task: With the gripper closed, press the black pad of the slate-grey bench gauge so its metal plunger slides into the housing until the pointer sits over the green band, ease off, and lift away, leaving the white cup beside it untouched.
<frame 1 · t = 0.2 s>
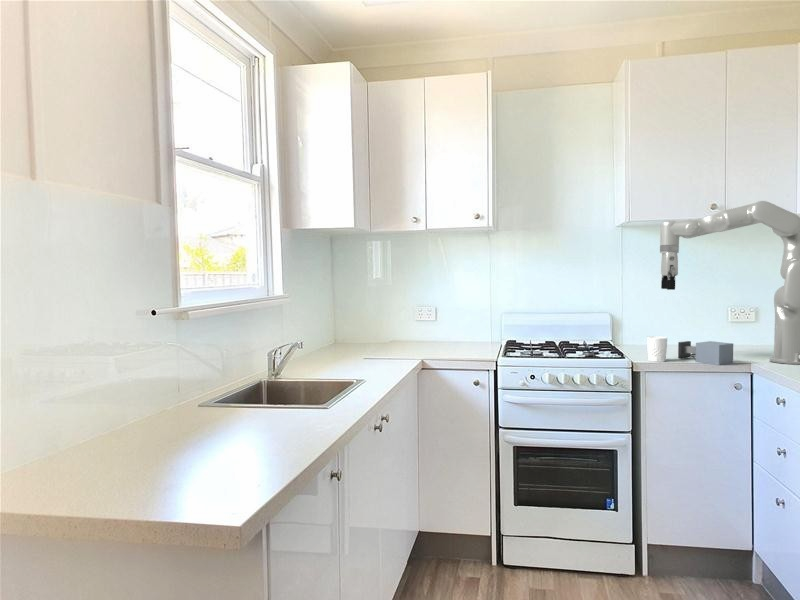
hand: (668, 289, 255), 30 cm above the worktop, tool pointing down, fingers open, 9 cm apart
plunger: (697, 350, 251), point 4 cm above the worktop, slide at 0.0 cm
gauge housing: (705, 361, 246), on the worktop
white cup: (656, 361, 249), on the worktop
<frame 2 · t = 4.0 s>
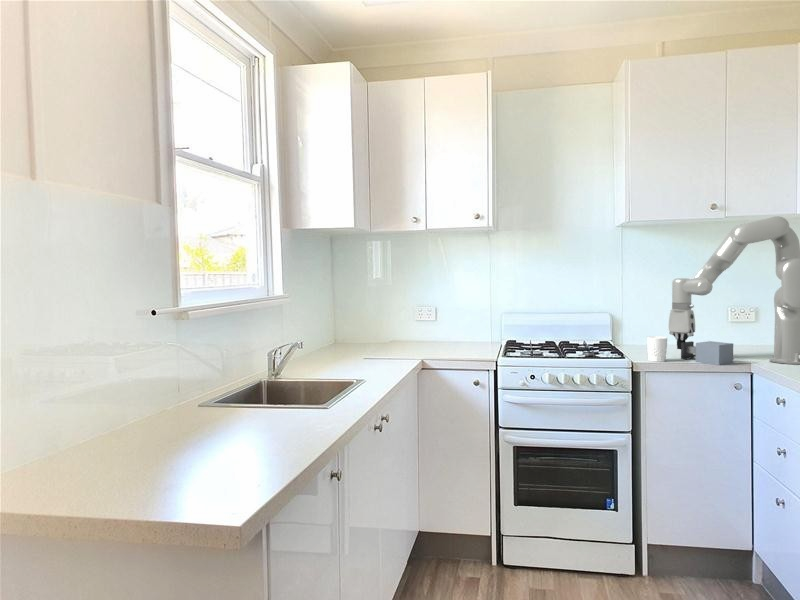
hand: (681, 348, 255), 4 cm above the worktop, tool pointing down, fingers closed
plunger: (700, 350, 250), point 4 cm above the worktop, slide at 1.3 cm, touching gripper
everything else where it was.
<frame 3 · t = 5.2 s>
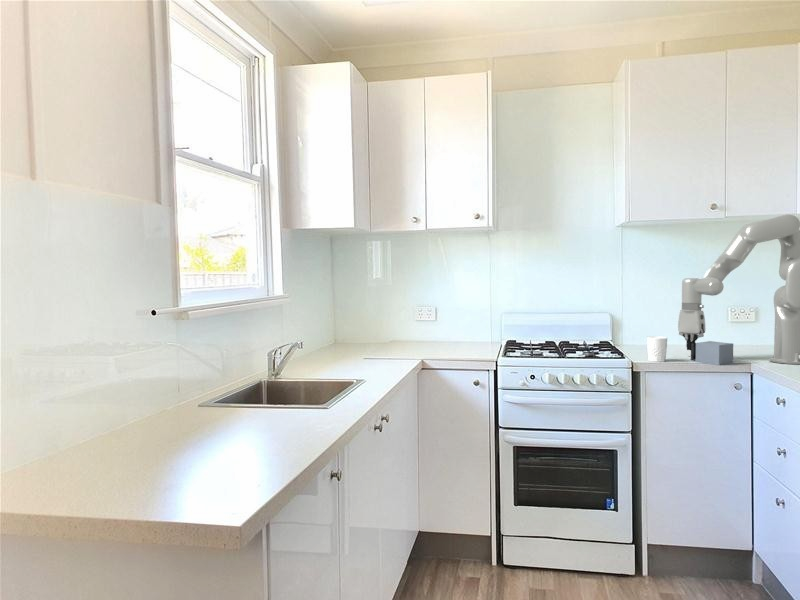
hand: (690, 349, 251), 4 cm above the worktop, tool pointing down, fingers closed
plunger: (710, 352, 246), point 4 cm above the worktop, slide at 5.8 cm, touching gripper
everything else where it was.
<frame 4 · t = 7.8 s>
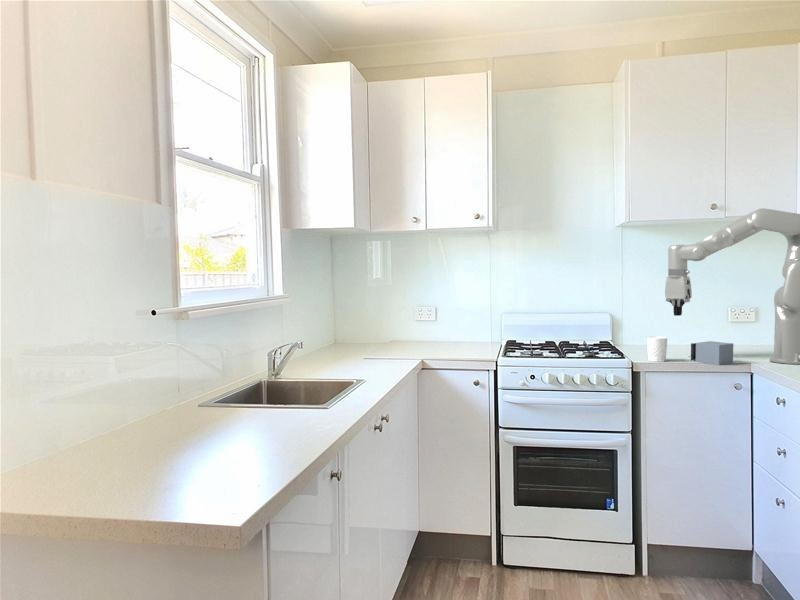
hand: (677, 315, 256), 19 cm above the worktop, tool pointing down, fingers closed
plunger: (710, 352, 246), point 4 cm above the worktop, slide at 5.8 cm
everything else where it was.
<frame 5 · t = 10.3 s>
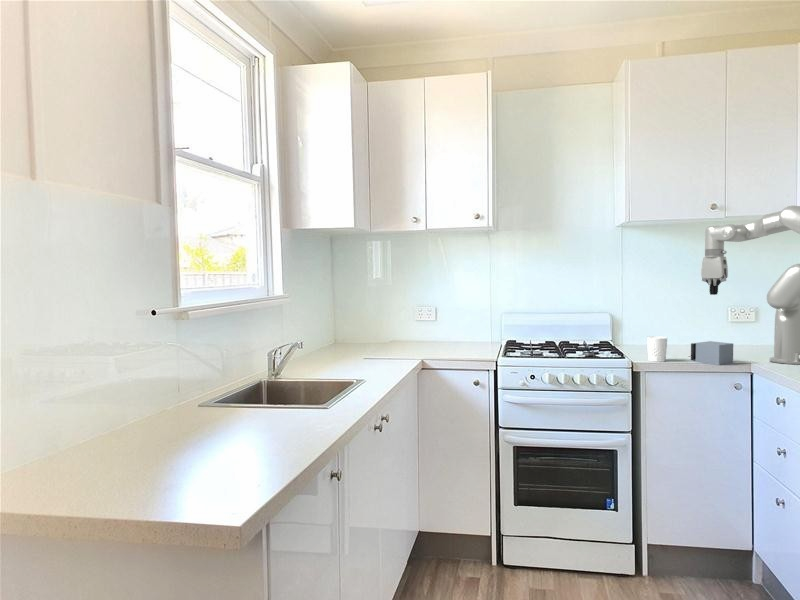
hand: (713, 294, 265), 27 cm above the worktop, tool pointing down, fingers closed
nothing on the worktop moved.
at the end: plunger slide at 5.8 cm; white cup moved 0.2 cm from its start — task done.
